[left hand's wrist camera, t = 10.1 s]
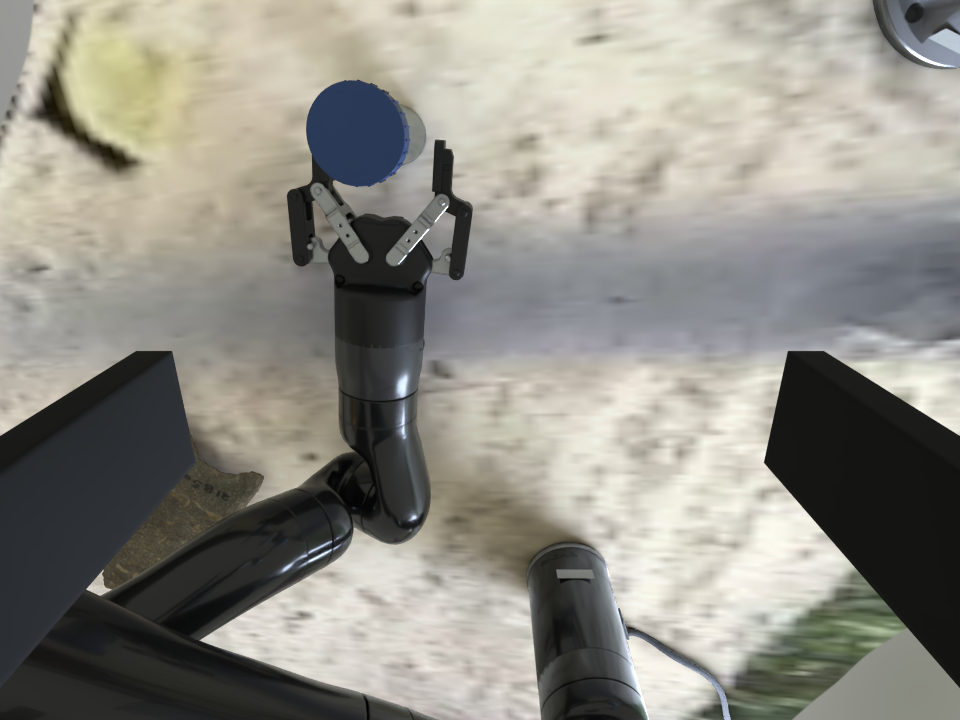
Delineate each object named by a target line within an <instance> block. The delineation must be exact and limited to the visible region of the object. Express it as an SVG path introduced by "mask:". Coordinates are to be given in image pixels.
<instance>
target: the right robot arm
mask: <svg viewBox="0 0 960 720" xmlns="http://www.w3.org/2000/svg"><path fill="white" fill-rule="evenodd" d="M453 160H454V156H453V152H452V149H446V140H435V146H434V165H433V185H432V192H435V198H434V199H433V200H432V202H431V203H430V204H429V205H428V206H427V208H426V209H425V210H424V211H423V212H422V213H421V215H420V216H419V217H418V218H417V219H416V221H415V222H414V223H413V224H411V223H410V222H409V221H407V220H406V219H403V217H398V216H392V217H387V218H383V217H380V216H378V215H375V214H364V215H361V216H359V217H357V216H356V215H355V213H354V212H353V210H352V209H351V207H350V206H349V205H348V204H347V203H345V201H344V200H343V199H342V197H341V196H340V194H339V193H338V192H337V190H336V189H335V187H334V186H333V181H334V180H335V179H333V178H332V177H330V176H329V175H328V174H327V173H325V172H324V171H323V170H322V169H321V167H320V166H319V165H318V164H317V162H316V161H315V159H314V157H313V155H312V181H311V182H310V184H308V185H306V186H303V187H299V188H296V189H292V190H290V191H289V192H288V194H287V201H288V211H289V221H290V232H291V242H292V252H293V260H294V262H295V264H296V265H298V266H305V265H306V264H309V263H324V264H330V266H331V268H332V270H333V273H334V296H335V362H336V370H337V375H338V385H339V428H340V433H341V436H342V438H343V440H344V441H345V442H346V443H347V444H348V445H349V446H350V447H351V448H352V449H353V450H354V451H353V452H348V453H344V454H341V455H339V456H337V457H336V458H334V459H333V460H332V461H330V462H329V463H328V464H327V465H325V466H324V467H323V468H322V469H320V470H319V471H318V472H316V473H315V474H314V475H312V476H311V477H310V478H309V479H307V480H306V481H305V482H304V483H303V484H302V485H300V486H299V487H297V488H294V489H291V490H289V491H286V492H283V493H281V494H278V495H275V496H273V497H270V498H268V499H265V500H262V501H260V502H257V503H255V504H252V505H250V506H248V507H245V508H243V509H241V510H239V511H237V512H235V513H233V514H231V515H229V516H227V517H226V518H224V519H222V520H220V521H219V522H217V523H215V524H214V525H212V526H211V527H209V528H208V529H206V530H205V531H203V532H202V533H200V534H199V535H197V536H196V537H194V538H193V539H191V540H190V541H188V542H187V543H185V544H184V545H182V546H181V547H179V548H178V549H176V550H175V551H173V552H172V553H171V554H169V555H168V556H166V557H165V558H163V559H162V560H160V561H159V562H157V563H156V564H154V565H153V566H151V567H150V568H148V569H146V570H145V571H143V572H142V573H140V574H139V575H137V576H135V577H134V578H132V579H130V580H128V581H127V582H125V583H123V584H121V585H119V586H118V587H116V588H114V589H112V590H111V591H109V592H107V593H105V594H103V595H101V596H99V595H97V594H94V593H92V592H90V591H88V590H85V591H84V592H83V593H82V594H81V596H80V597H79V598H78V599H77V600H76V601H75V602H74V604H73V605H72V606H71V607H70V608H69V609H68V610H67V612H66V613H65V614H64V615H63V616H62V617H61V619H60V620H59V621H58V622H57V623H56V624H55V625H54V627H53V628H52V629H51V630H50V631H49V632H48V633H47V635H46V636H45V637H44V638H43V639H42V640H41V642H40V643H39V644H38V645H37V646H36V647H35V648H34V650H33V651H32V652H31V653H30V654H29V655H28V656H27V658H26V659H25V660H24V661H23V662H22V663H21V665H20V666H19V667H18V668H17V669H16V670H15V671H14V673H13V674H12V675H11V676H10V677H9V678H8V679H7V681H6V682H5V683H4V684H3V685H2V686H1V688H0V720H438V719H436V718H433V717H430V716H427V715H424V714H422V713H419V712H417V711H414V710H412V709H409V708H407V707H403V706H401V705H398V704H394V703H391V702H388V701H385V700H382V699H379V698H376V697H373V696H370V695H366V694H363V693H360V692H357V691H353V690H350V689H346V688H342V687H338V686H334V685H330V684H327V683H323V682H319V681H316V680H313V679H310V678H307V677H304V676H301V675H299V674H296V673H293V672H290V671H287V670H284V669H281V668H279V667H276V666H273V665H270V664H267V663H264V662H261V661H258V660H255V659H252V658H249V657H246V656H243V655H240V654H236V653H233V652H230V651H227V650H224V649H221V648H218V647H215V646H212V645H209V644H206V643H204V642H201V641H199V640H201V639H202V638H204V637H206V636H207V635H209V634H210V633H212V632H213V631H215V630H217V629H218V628H220V627H222V626H223V625H225V624H226V623H228V622H230V621H231V620H233V619H235V618H236V617H238V616H240V615H241V614H243V613H245V612H246V611H248V610H250V609H251V608H253V607H255V606H257V605H258V604H260V603H262V602H264V601H265V600H267V599H269V598H271V597H273V596H274V595H276V594H278V593H280V592H281V591H283V590H285V589H287V588H289V587H291V586H292V585H294V584H296V583H298V582H300V581H301V580H303V579H305V578H307V577H308V576H310V575H312V574H314V573H315V572H317V571H319V570H320V569H322V568H324V567H326V566H328V565H329V564H331V563H332V562H334V561H335V560H337V559H338V558H339V557H341V556H342V555H343V554H344V553H345V551H346V550H347V549H348V547H349V545H350V543H351V540H352V537H353V527H354V528H356V529H358V530H360V531H362V532H364V533H365V534H368V535H369V536H371V537H373V538H375V539H377V540H379V541H381V542H383V543H386V544H394V545H396V544H401V543H404V542H407V541H408V540H410V539H411V538H413V537H414V536H415V535H416V534H417V533H418V532H419V530H420V529H421V528H422V526H423V524H424V522H425V520H426V518H427V515H428V512H429V507H430V501H431V487H430V479H429V474H428V470H427V466H426V461H425V457H424V453H423V449H422V444H421V440H420V436H419V433H418V430H417V425H416V418H417V401H418V383H419V376H420V372H421V366H422V356H423V349H424V338H423V336H424V318H425V298H426V282H427V277H428V276H429V274H430V273H431V272H432V273H438V274H445V275H449V276H450V277H451V278H452V279H453V280H459V279H461V278H462V277H463V275H464V269H465V262H466V255H467V248H468V241H469V233H470V226H471V219H472V212H473V207H472V205H471V204H470V203H469V202H466V201H463V200H461V199H459V198H457V197H456V196H455V195H454V194H453V192H452V176H453ZM314 200H316V202H317V203H318V204H319V206H320V207H321V209H322V210H323V211H324V213H325V215H326V218H327V220H328V222H329V223H330V225H331V226H332V227H333V229H334V230H335V231H336V233H337V234H338V236H339V238H338V240H337V241H336V242H335V244H334V245H333V246H332V248H331V249H330V250H327V249H326V248H325V247H324V245H323V242H322V240H321V239H320V238H319V237H317V236H315V228H314V216H313V204H312V201H314ZM444 211H445V212H447V213H450V214H452V215H454V216H456V220H455V228H454V236H453V244H452V248H446V249H444V250H443V252H442V255H441V257H440V258H438V259H433V257H432V255H431V253H430V252H429V250H428V249H427V247H426V246H425V244H424V242H423V241H422V239H421V238H422V237H423V236H424V235H425V233H426V232H427V231H428V230H429V229H430V228H431V226H432V225H433V224H434V223H435V222H436V220H437V219H438V218H439V217H440V216H441V215H442V213H443V212H444ZM349 219H350V220H351V221H349ZM341 225H342V226H341ZM527 585H528V588H529V598H530V610H531V620H532V631H533V641H534V652H535V662H536V672H537V683H538V692H539V702H540V712H541V720H649V718H648V714H647V711H646V707H645V704H644V700H643V696H642V693H641V689H640V686H639V682H638V679H637V675H636V672H635V669H634V665H633V661H632V658H631V654H630V651H629V647H628V644H627V640H629V636H637V637H640V638H642V639H644V640H646V641H647V642H649V643H650V644H652V645H653V646H655V647H656V648H657V649H659V650H660V651H661V652H663V653H664V654H666V655H667V656H669V657H670V658H672V659H673V660H675V661H677V662H678V663H680V664H682V665H684V666H686V667H688V668H690V669H692V670H694V671H696V672H697V673H699V674H701V675H702V676H704V677H705V678H706V679H707V680H709V681H710V682H711V683H712V685H713V686H714V687H715V688H716V690H717V692H718V694H719V696H720V700H721V704H722V710H723V715H724V719H725V720H731V719H730V715H729V709H728V703H727V699H726V696H725V693H724V691H723V689H722V687H721V686H720V684H719V683H718V682H717V680H716V679H715V678H714V677H713V676H712V675H711V674H710V673H708V672H707V671H706V670H704V669H703V668H701V667H699V666H697V665H696V664H694V663H692V662H690V661H688V660H686V659H684V658H682V657H680V656H679V655H677V654H675V653H674V652H672V651H671V650H669V649H668V648H667V647H665V646H664V645H662V644H661V643H660V642H658V641H657V640H655V639H654V638H652V637H651V636H649V635H647V634H645V633H643V632H641V631H638V630H634V629H626V626H625V622H624V620H623V617H622V614H621V611H620V608H617V604H616V601H615V597H614V593H613V589H612V586H611V582H610V579H609V572H608V568H607V565H606V562H605V560H604V559H603V557H602V556H601V555H600V554H599V553H598V552H597V551H596V550H594V549H593V548H591V547H589V546H586V545H583V544H580V543H572V542H567V543H559V544H555V545H552V546H549V547H547V548H545V549H543V550H542V551H540V552H539V553H538V554H537V555H536V556H535V557H534V558H533V559H532V561H531V562H530V564H529V566H528V569H527Z"/></svg>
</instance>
